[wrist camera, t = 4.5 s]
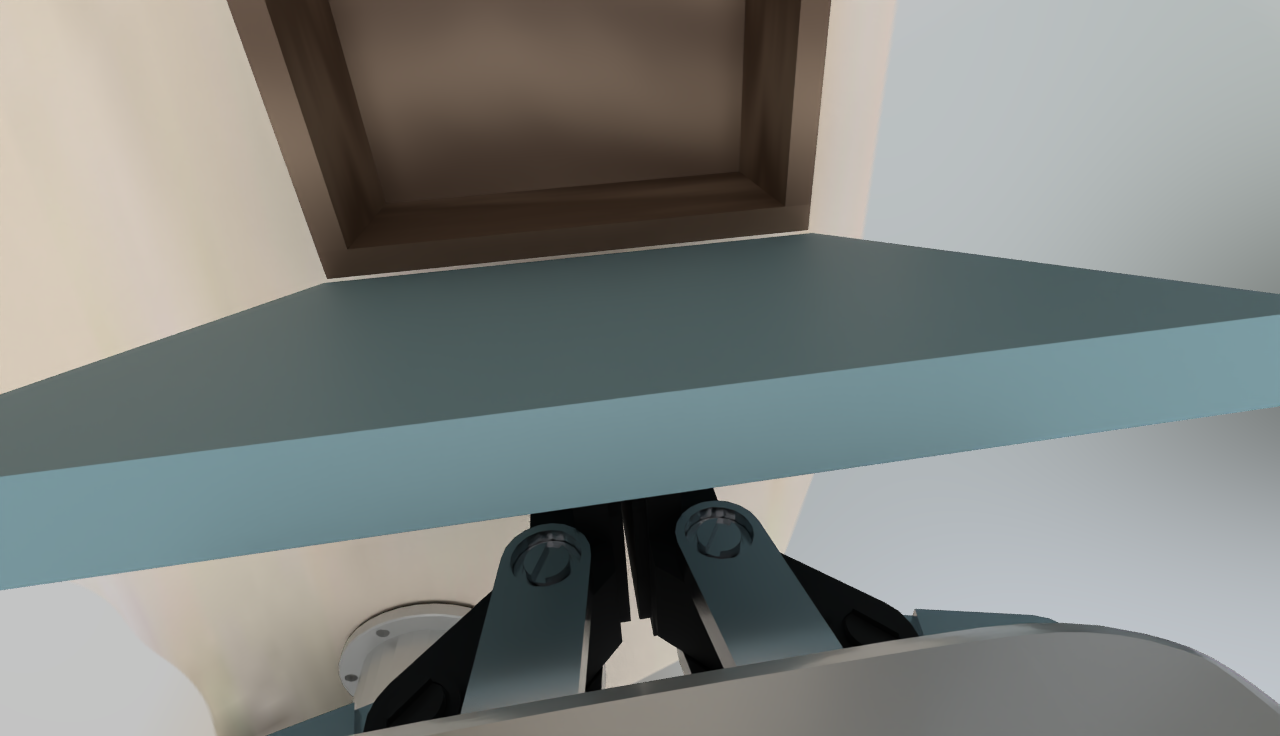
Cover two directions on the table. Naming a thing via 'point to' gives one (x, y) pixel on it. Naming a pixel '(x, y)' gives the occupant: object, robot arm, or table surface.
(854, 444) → the lid
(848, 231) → the table surface
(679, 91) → the storage box
